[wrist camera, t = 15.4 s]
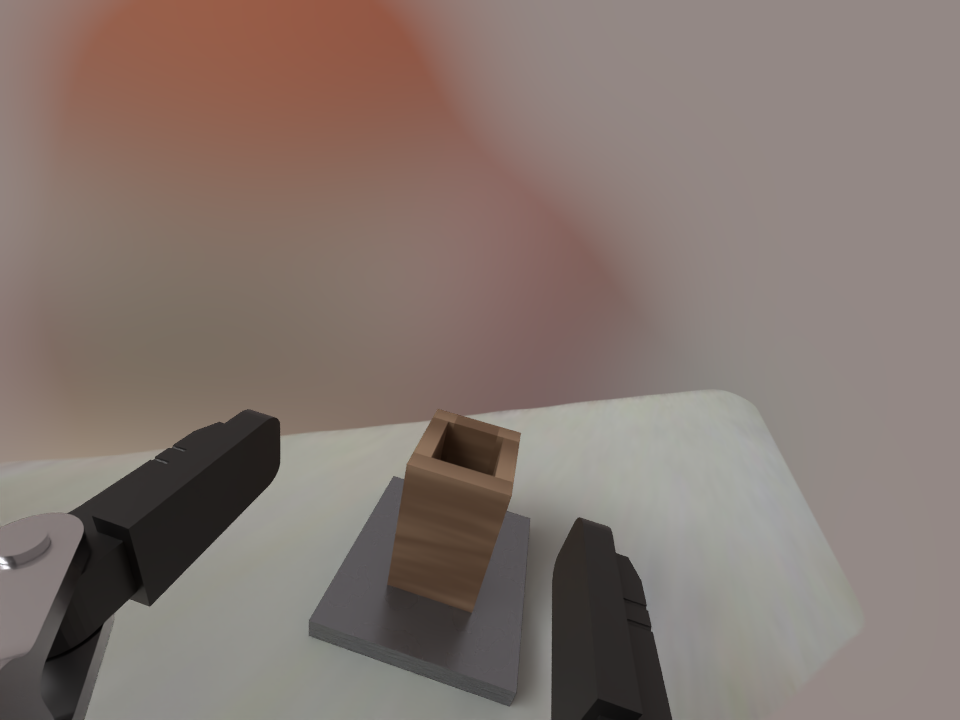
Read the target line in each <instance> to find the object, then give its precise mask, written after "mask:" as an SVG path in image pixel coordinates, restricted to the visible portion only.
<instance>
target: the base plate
mask: <svg viewBox="0 0 960 720" xmlns="http://www.w3.org/2000/svg"><path fill="white" fill-rule="evenodd" d="M403 485H404V479H401V478H398V477H395V476H393V478H392V480H391V481H390V483H389V485H388V486H387V488H386V490H385V492H384V493H383V495H382V497H381V498H380V500H379V502H378V504H377V505H376V507H375V509H374V510H373V512H372V514H371V516H370V517H369V519H368V521H367V522H366V524H365V526H364V527H363V529H362V531H361V533H360V534H359V536H358V538H357V539H356V541H355V543H354V545H353V546H352V548H351V550H350V551H349V553H348V555H347V556H346V558H345V560H344V562H343V563H342V565H341V567H340V568H339V570H338V572H337V574H336V575H335V577H334V579H333V580H332V582H331V584H330V586H329V587H328V589H327V591H326V592H325V594H324V596H323V597H322V599H321V601H320V603H319V604H318V606H317V608H316V609H315V611H314V613H313V615H312V616H311V618H310V620H309V636H312V637H314V638H317V639H320V640H323V641H326V642H329V643H331V644H334V645H337V646H340V647H343V648H346V649H348V650H351V651H354V652H357V653H360V654H363V655H365V656H368V657H371V658H374V659H377V660H380V661H382V662H385V663H388V664H391V665H394V666H397V667H399V668H402V669H405V670H408V671H411V672H414V673H416V674H419V675H422V676H425V677H428V678H431V679H433V680H436V681H439V682H442V683H445V684H448V685H450V686H453V687H456V688H459V689H462V690H465V691H467V692H470V693H473V694H476V695H479V696H481V697H484V698H487V699H490V700H493V701H496V702H498V703H501V704H504V705H507V706H510V704H511V702H512V700H513V698H514V696H515V694H516V691H517V678H518V665H519V653H520V640H521V627H522V615H523V602H524V589H525V577H526V564H527V551H528V539H529V526H530V518H527V517H524V516H521V515H518V514H514V513H511V512H508V511H506V514H505V517H504V520H503V523H502V526H501V529H500V532H499V535H498V537H497V540H496V543H495V546H494V549H493V552H492V555H491V558H490V561H489V564H488V567H487V570H486V573H485V576H484V579H483V582H482V585H481V588H480V591H479V594H478V597H477V600H476V603H475V606H474V609H473V612H472V613H471V612H468V611H465V610H462V609H459V608H456V607H453V606H450V605H447V604H444V603H441V602H438V601H435V600H432V599H429V598H426V597H423V596H420V595H417V594H414V593H411V592H408V591H405V590H402V589H399V588H396V587H393V586H390V585H387V583H388V576H389V570H390V564H391V558H392V552H393V546H394V540H395V534H396V528H397V521H398V515H399V509H400V503H401V497H402V491H403Z"/></svg>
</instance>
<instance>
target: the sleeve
mask: <svg viewBox="0 0 960 720" xmlns="http://www.w3.org/2000/svg"><path fill="white" fill-rule="evenodd" d="M520 435H521V433H519V432H516V431H512V430H509V429H505V428H502V427H498V426H495V425H492V424H488V423H485V422H481V421H478V420H474V419H471V418H467V417H464V416H461V415H457V414H454V413H450V412H447V411H443V410H440V409H438V410H437V411H436V413H435V415H434V417H433V418H432V420H431V422H430V424H429V426H428V427H427V429H426V431H425V433H424V434H423V436H422V438H421V440H420V442H419V443H418V445H417V447H416V449H415V450H414V452H413V454H412V456H411V458H410V459H409V461H408V463H407V466H406V472H405V479H404V485H403V491H402V497H401V503H400V509H399V515H398V521H397V528H396V534H395V540H394V546H393V552H392V558H391V564H390V570H389V576H388V583H387V585H390V586H393V587H396V588H399V589H402V590H405V591H408V592H411V593H414V594H417V595H420V596H423V597H426V598H429V599H432V600H435V601H438V602H441V603H444V604H447V605H450V606H453V607H456V608H459V609H462V610H465V611H468V612H471V613H472V612H473V609H474V606H475V603H476V600H477V597H478V594H479V591H480V588H481V585H482V582H483V579H484V576H485V573H486V570H487V567H488V564H489V561H490V558H491V555H492V552H493V549H494V546H495V543H496V540H497V537H498V535H499V532H500V529H501V526H502V523H503V520H504V517H505V514H506V511H507V508H508V505H509V502H510V499H511V496H512V489H513V482H514V476H515V469H516V462H517V455H518V449H519V442H520Z"/></svg>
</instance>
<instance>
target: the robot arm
mask: <svg viewBox="0 0 960 720" xmlns="http://www.w3.org/2000/svg"><path fill="white" fill-rule="evenodd" d="M279 466H280V422H279V420H278V419H277V418H275V417H272V416H269V415H266V414H262V413H259V412H256V411H253V410H244V411H242V412H241V413H239V414H238V415H236V416H235V417H233V418H232V419H230V420H229V421H228V422H226V423H225V424H224V423H221V422H218V423H215V424H212V425H210V426H207V427H204V428H202V429H199V430H196V431H194V432H192V433H191V434H189V435H188V436H186V437H185V438H183V439H182V440H180V441H179V442H177V443H175V444H174V445H173V447H172V448H168V449H166V450H165V451H163V452H162V453H160V454H159V455H157V456H156V457H155V459H154V460H149V461H148V462H146V463H145V464H143V465H142V466H140V467H139V468H137V469H136V470H134V471H133V472H131V473H130V474H128V475H127V476H125V477H124V478H122V479H121V480H119V481H117V482H116V483H114V484H113V485H111V486H110V487H108V488H107V489H105V490H104V491H102V492H101V493H99V494H98V495H96V496H95V497H93V498H92V499H90V500H88V501H87V502H85V503H84V504H82V505H81V506H79V507H78V508H76V509H74V510H73V511H71V512H69V513H67V514H66V513H46V514H40V515H35V516H31V517H27V518H23V519H20V520H18V521H15V522H12V523H10V524H7V525H5V526H3V527H1V528H0V720H84V718H85V715H86V712H87V709H88V705H89V702H90V699H91V696H92V692H93V689H94V686H95V682H96V679H97V676H98V673H99V669H100V666H101V663H102V660H103V656H104V653H105V650H106V646H107V643H108V640H109V637H110V633H111V630H112V627H113V623H114V613H115V612H116V611H117V610H118V609H119V608H120V607H121V606H122V605H123V604H124V603H125V602H127V601H128V600H129V599H131V600H134V601H136V602H139V603H142V604H144V605H147V606H151V605H152V604H153V603H154V602H155V601H156V600H157V599H158V598H159V597H160V596H161V595H162V594H163V593H164V592H165V591H166V590H167V589H168V588H169V587H170V586H171V585H172V584H173V583H174V582H175V581H176V580H177V579H178V577H179V576H180V575H181V574H182V573H183V572H184V571H185V570H186V569H187V568H188V567H189V566H190V565H191V564H192V563H193V562H194V561H195V560H196V559H197V558H198V557H199V556H200V555H201V554H202V553H203V552H204V551H205V550H206V549H207V548H208V547H209V546H210V545H211V544H212V543H213V542H214V541H215V540H216V539H217V538H218V537H219V536H220V535H221V534H222V533H223V532H224V531H225V530H226V529H227V528H228V527H229V526H230V525H231V524H232V523H233V522H234V521H235V520H236V519H237V518H238V516H239V515H240V514H241V513H242V512H243V511H244V510H245V509H246V508H247V507H248V506H249V505H250V504H251V503H252V502H253V501H254V500H255V499H256V498H257V497H258V496H259V495H260V494H261V493H262V492H263V491H264V490H265V489H266V488H267V487H268V486H269V485H270V484H271V482H272V481H273V479H274V478H275V476H276V474H277V472H278V469H279ZM646 606H647V604H646V600H645V595H644V591H643V586H642V582H641V579H640V578H639V576H638V574H637V572H636V571H635V569H634V567H633V565H632V563H631V562H630V560H629V558H628V557H626V556H623V555H620V554H617V553H616V552H615V546H614V540H613V535H612V531H611V529H610V527H608V526H605V525H602V524H599V523H596V522H592V521H589V520H586V519H583V518H580V517H579V518H577V519H576V521H575V523H574V525H573V527H572V529H571V531H570V533H569V534H568V536H567V538H566V540H565V542H564V544H563V546H562V548H561V550H560V552H559V554H558V556H557V559H556V562H555V566H554V572H553V580H552V705H551V720H672V716H671V712H670V707H669V703H668V698H667V694H666V689H665V685H664V680H663V676H662V672H661V667H660V663H659V658H658V654H657V649H656V645H655V640H654V636H653V632H651V622H650V618H649V613H648V610H646Z"/></svg>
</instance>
